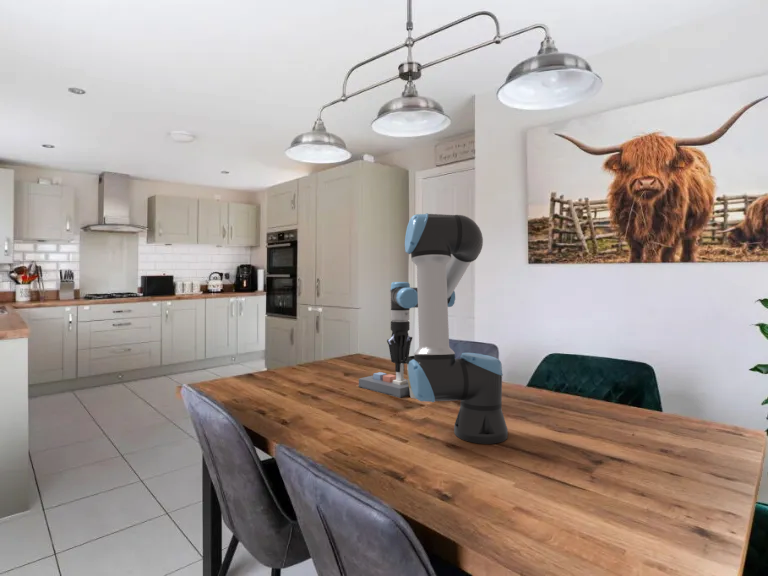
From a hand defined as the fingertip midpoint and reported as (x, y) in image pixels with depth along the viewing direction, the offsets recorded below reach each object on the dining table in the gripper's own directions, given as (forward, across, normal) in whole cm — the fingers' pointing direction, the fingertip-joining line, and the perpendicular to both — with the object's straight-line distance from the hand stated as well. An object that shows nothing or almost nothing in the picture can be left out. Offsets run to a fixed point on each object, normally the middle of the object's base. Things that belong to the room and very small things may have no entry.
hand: (399, 379), depth 172 cm
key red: (+2, 0, +6) cm, 6 cm away
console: (+5, 0, +6) cm, 7 cm away
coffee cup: (+5, 0, -10) cm, 11 cm away
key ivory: (+3, 0, 0) cm, 3 cm away
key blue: (+2, 0, +11) cm, 11 cm away
